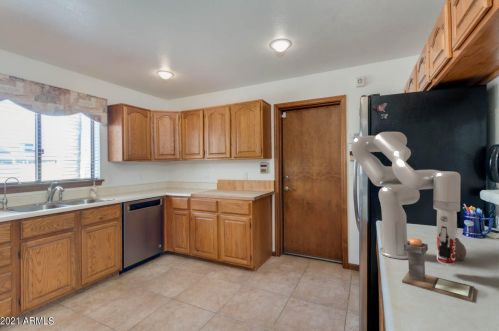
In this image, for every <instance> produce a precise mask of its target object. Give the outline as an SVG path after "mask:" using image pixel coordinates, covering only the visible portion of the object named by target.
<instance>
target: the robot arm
mask: <svg viewBox="0 0 499 331" xmlns="http://www.w3.org/2000/svg"><path fill="white" fill-rule="evenodd" d="M407 143H408V138H407V136H406V135H405V134H404V133H402V132H401V131H382V132H379V133H378V134H376V135H361V136H357V137H355V138H354V139H353V140H352V142H351V147H350V148H351V149H350V150H351V154H352V156H353V158H354V160H355V161H356V163H358V164H359V165H360V166H361V167H362V168H361V169H363V171H364V172H365V174H366V176H367V178H369V180H370V181H371V183H372V184H373V185H374V186H376V187H381V188H380V189H379V191H378V199H379V202H380V207H381V208H380V209H381V222H382V223H381V224H382V226H381V228H382V243H383V244H382V246H383V247H381V248H379V253H380V254H381V255H383V256H385V257H387V258H390V259H392V258H393V259H397V260H398V259H399V260H405V259H406V260H407V259H408V251H406V250H404V244H405V243H406V242H407V241H408V226H407V224H408V223H407V213H406V212H405V209H404V208H403V206H404V205H413V204H415V203H417V202H418V201H419V200H420V196H421V194H420V190H432V189H433V194H432V195H433V197H432V198H433V202H432V203H433V206H432V207H433V208H432V209H433V210H436V237H437V236H438V237H440V245H439V256H441V257H446V258H451V247H450V239H452V240H454V239H455V238H457V236H458V218H457V217H458V214H457V213H458V212H460V211H461V174H460V173H459V172H457V171H452V170H451V171H447V170H446V171H445V170H444V171H443V170H442V171H441V170H437V169H418V170H417V169H416V170H415V169H414V168H413V167H411V166H410V164H408V162H407V161H408V159H409V158H410V157H411V155H412V152H411V149H410V148H409V147H407V146H406V145H407ZM375 152H376V153H378V152H379V153H382V154H383V155H384V156H386V158H387V159H388V160H389V161H390V162H392V163H391V166H389V165H388V166H386V165H384V164H383V163H382V162H381V161H380V159H379V158H378V157H377V156H375V155H374V154H372V153H375ZM446 236H448V238H446ZM446 240H448V242H447V241H446Z"/></svg>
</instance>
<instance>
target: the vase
mask: <svg viewBox="0 0 499 331" xmlns="http://www.w3.org/2000/svg"><path fill="white" fill-rule="evenodd" d="M466 257H467V249H466V246H465V245H464V244H463V243H462V241H461V240H460V239H459V238H458V237H456V238H455V261H456V262H457V261H463V260H464V259H465V258H466Z"/></svg>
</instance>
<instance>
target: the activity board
mask: <svg viewBox="0 0 499 331" xmlns="http://www.w3.org/2000/svg"><path fill="white" fill-rule="evenodd" d="M404 250H406V251H408V272H407V273H406V274H405V275H404V277H403V278H402V280H401V283H402V284H407V285H409V286H414V287H417V288H419V289H420V288H421V289H424V290H427V291H431V292H435V293H438V294H442V295H445V296H449V297H453V298H457V299H460V300H465V301H468V302H471V303H473V300H474V294H475V286H474V285H470V284H465V283H461V282H457V281H454V280H451V279H450V280H449V279H445V278H441V277H437V276H434V275H433V276H432V275H428V274H426V263H425V262H426V261H425V255H426V254H427V252H428V251H429V246H428V243H425V242H422V247H417V246H412V245H410V240H407V242H406V243H405V244H404Z"/></svg>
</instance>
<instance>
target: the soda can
mask: <svg viewBox="0 0 499 331" xmlns="http://www.w3.org/2000/svg"><path fill="white" fill-rule="evenodd" d="M446 238H448V236H446ZM446 241H447V242H448V240H446ZM439 245H440V237H438V236H437V235H436V260H437V262H438V263H440V264H441V265H447V266H454V265H455V264H456V260H455V239H454V240H452V239H450V247H451V258H446V257H441V256H439Z"/></svg>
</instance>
